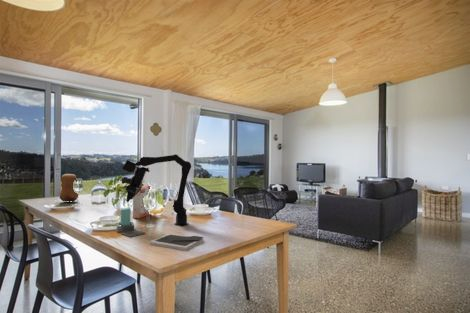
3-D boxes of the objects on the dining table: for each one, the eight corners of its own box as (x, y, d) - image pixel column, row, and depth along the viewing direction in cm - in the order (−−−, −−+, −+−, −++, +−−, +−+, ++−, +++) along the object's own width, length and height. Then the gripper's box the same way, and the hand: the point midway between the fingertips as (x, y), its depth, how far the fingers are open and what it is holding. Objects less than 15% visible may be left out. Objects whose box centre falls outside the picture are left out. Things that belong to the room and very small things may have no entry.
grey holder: (132, 226, 167) (132, 221, 167) (134, 230, 159) (134, 225, 159) (116, 228, 163) (116, 223, 163) (117, 232, 155) (117, 226, 155)
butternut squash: (73, 200, 254) (73, 173, 254) (80, 202, 247) (81, 173, 246) (56, 202, 243) (57, 173, 243) (63, 204, 235) (64, 174, 235)
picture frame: (203, 242, 142) (169, 237, 150) (203, 237, 142) (169, 231, 150) (185, 252, 127) (149, 245, 135) (186, 246, 127) (149, 239, 135)
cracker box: (140, 218, 188) (140, 187, 188) (132, 218, 189) (132, 187, 189) (150, 214, 202) (151, 185, 201) (143, 214, 203) (143, 185, 203)
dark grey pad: (145, 233, 153) (145, 232, 153) (130, 237, 146) (130, 236, 146) (135, 230, 158) (135, 229, 158) (120, 234, 151) (120, 233, 151)
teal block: (129, 228, 164) (129, 207, 164) (130, 230, 160) (130, 209, 160) (120, 228, 162) (120, 208, 162) (120, 230, 158) (121, 209, 158)
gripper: (129, 170, 178) (120, 193, 178) (122, 172, 160) (111, 198, 159) (146, 176, 180) (137, 199, 179) (141, 179, 162) (130, 204, 161)
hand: (129, 200), depth 170 cm, fingers open, 9 cm apart
